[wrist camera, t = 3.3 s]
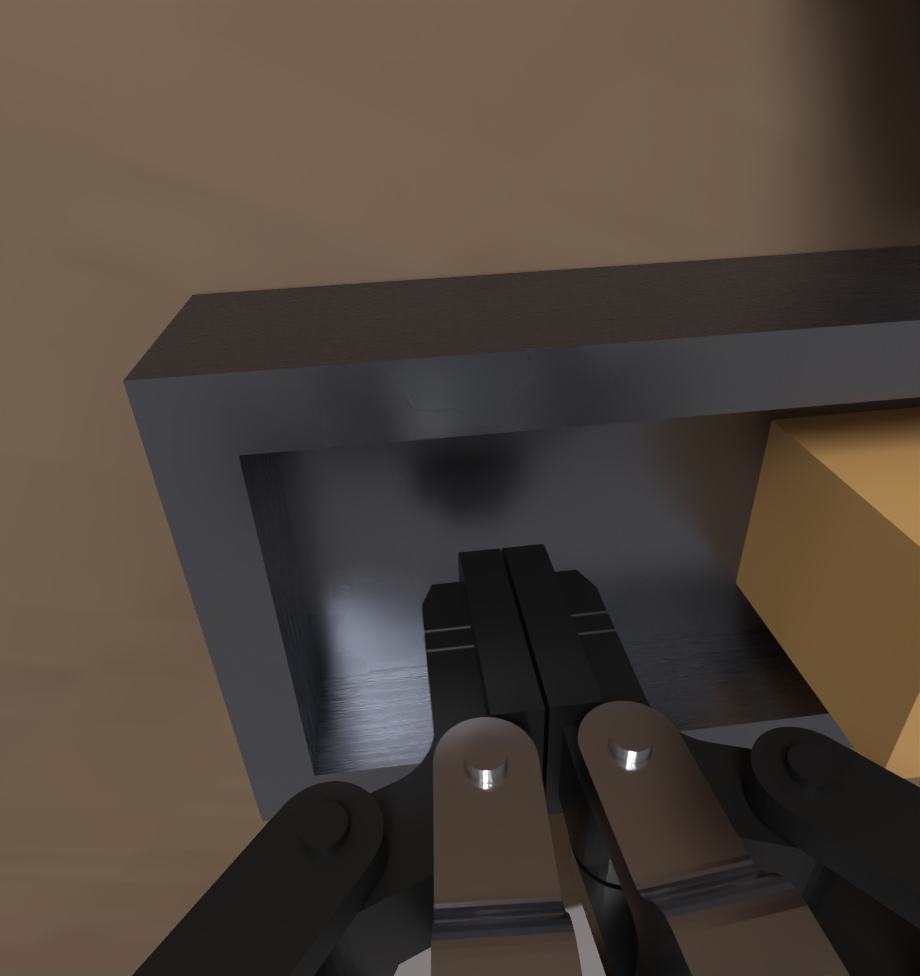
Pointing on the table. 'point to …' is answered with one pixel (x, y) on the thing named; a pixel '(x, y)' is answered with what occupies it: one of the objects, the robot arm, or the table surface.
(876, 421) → the tan cardboard cube
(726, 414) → the rail
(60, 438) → the table surface
